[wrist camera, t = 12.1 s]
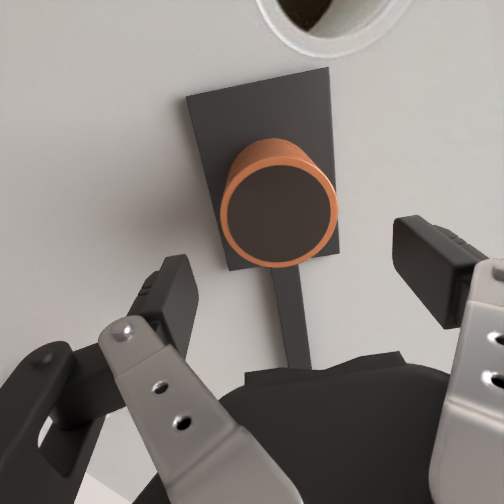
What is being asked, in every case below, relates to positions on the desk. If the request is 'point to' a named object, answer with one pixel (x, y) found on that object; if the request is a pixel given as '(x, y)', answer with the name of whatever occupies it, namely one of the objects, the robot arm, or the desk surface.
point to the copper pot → (277, 205)
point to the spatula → (263, 127)
